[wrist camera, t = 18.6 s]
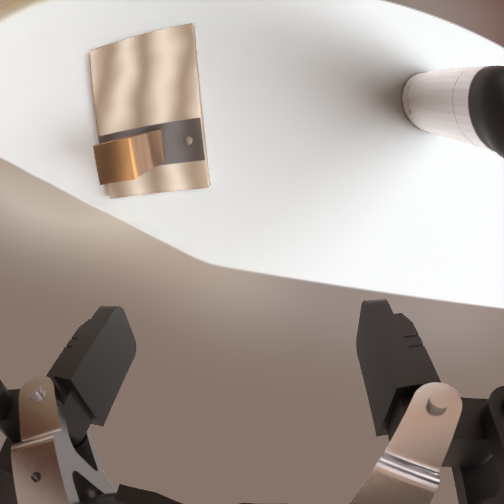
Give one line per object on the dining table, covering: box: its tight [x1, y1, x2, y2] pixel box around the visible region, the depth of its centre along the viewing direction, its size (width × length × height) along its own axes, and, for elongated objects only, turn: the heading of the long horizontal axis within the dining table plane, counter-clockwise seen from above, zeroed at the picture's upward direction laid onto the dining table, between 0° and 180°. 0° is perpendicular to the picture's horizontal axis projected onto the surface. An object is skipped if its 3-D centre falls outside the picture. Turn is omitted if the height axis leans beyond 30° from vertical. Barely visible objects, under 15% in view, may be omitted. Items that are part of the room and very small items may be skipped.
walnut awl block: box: [93, 129, 166, 185], centre depth 36 cm, size 5×5×11 cm
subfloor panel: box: [90, 23, 210, 199], centre depth 39 cm, size 16×24×2 cm, turn 5°
